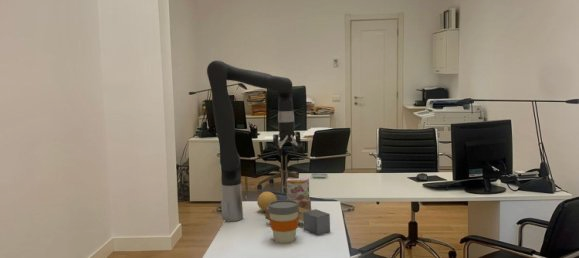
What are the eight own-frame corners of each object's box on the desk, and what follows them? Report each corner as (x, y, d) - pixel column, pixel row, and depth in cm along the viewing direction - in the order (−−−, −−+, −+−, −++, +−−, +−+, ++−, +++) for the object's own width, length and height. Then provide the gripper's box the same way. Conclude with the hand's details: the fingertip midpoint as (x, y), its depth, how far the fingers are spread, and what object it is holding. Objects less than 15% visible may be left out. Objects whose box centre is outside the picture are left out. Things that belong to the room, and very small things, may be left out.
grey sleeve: (317, 235, 196) (316, 217, 195) (303, 230, 204) (303, 212, 203) (330, 232, 200) (329, 213, 199) (316, 226, 208) (315, 209, 207)
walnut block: (271, 226, 211) (270, 209, 210) (265, 223, 214) (264, 207, 213) (311, 215, 224) (310, 199, 223) (305, 213, 227) (305, 197, 226)
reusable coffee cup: (265, 243, 190) (263, 207, 188) (276, 232, 202) (274, 199, 200) (294, 245, 186) (292, 209, 184) (303, 235, 197) (302, 200, 196)
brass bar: (311, 225, 201) (311, 215, 201) (283, 214, 218) (283, 205, 218) (318, 223, 204) (318, 213, 203) (291, 212, 221) (290, 203, 220)
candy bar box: (286, 213, 229) (285, 180, 227) (287, 210, 234) (286, 178, 232) (309, 213, 228) (308, 180, 226) (310, 210, 233) (309, 177, 231)
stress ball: (277, 214, 230) (283, 198, 237) (267, 203, 225) (273, 186, 231) (261, 215, 236) (267, 199, 242) (251, 204, 230) (257, 188, 236)
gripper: (293, 118, 225) (295, 152, 227) (269, 121, 217) (270, 155, 219) (303, 119, 219) (304, 153, 221) (278, 122, 211) (279, 157, 213)
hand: (287, 154), depth 220 cm, fingers open, 8 cm apart
